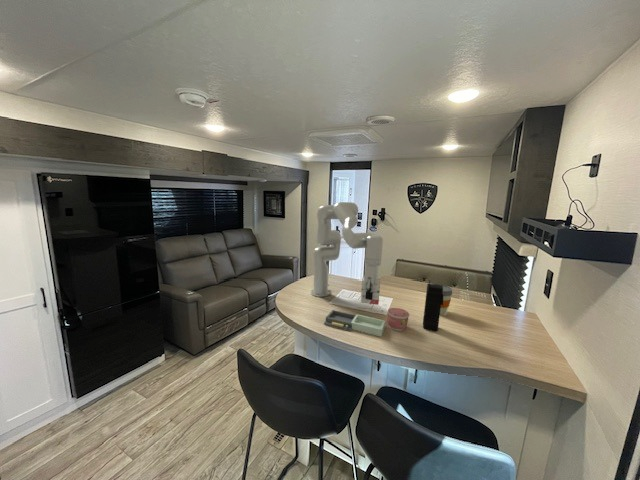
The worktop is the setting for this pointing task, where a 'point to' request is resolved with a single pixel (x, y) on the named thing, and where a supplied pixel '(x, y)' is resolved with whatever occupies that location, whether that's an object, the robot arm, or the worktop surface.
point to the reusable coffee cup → (445, 298)
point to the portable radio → (432, 306)
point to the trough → (368, 325)
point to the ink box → (375, 291)
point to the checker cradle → (339, 320)
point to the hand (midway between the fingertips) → (370, 296)
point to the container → (397, 318)
